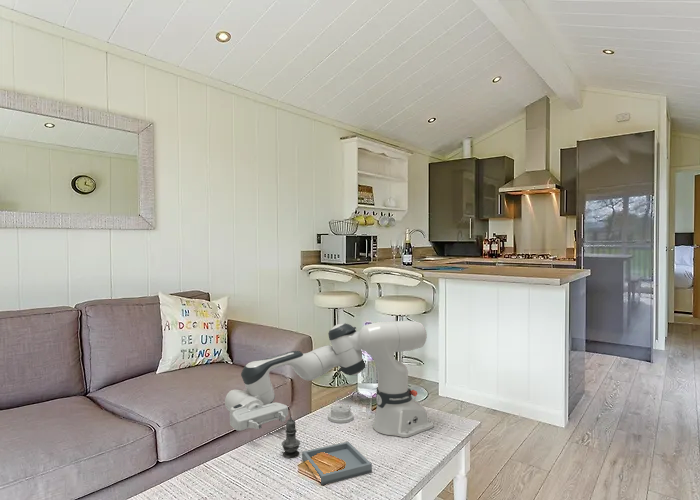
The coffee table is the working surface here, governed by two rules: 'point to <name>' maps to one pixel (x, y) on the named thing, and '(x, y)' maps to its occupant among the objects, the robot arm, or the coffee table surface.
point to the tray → (346, 452)
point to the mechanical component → (340, 414)
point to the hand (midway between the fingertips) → (272, 422)
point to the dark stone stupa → (290, 440)
